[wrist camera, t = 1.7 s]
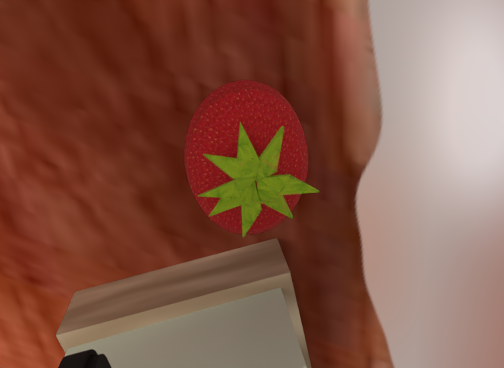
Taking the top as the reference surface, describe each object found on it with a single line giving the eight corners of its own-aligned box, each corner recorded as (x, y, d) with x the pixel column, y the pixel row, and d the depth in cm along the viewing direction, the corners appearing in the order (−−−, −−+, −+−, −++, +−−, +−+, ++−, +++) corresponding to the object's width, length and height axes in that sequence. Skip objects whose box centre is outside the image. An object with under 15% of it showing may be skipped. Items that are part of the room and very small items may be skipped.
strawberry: (283, 65, 23) (341, 92, 14) (284, 185, 26) (333, 274, 17) (179, 70, 23) (169, 103, 13) (192, 193, 25) (191, 290, 16)
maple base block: (76, 288, 27) (55, 335, 23) (275, 234, 28) (290, 272, 24) (143, 424, 33) (136, 482, 29) (308, 378, 33) (325, 428, 29)
